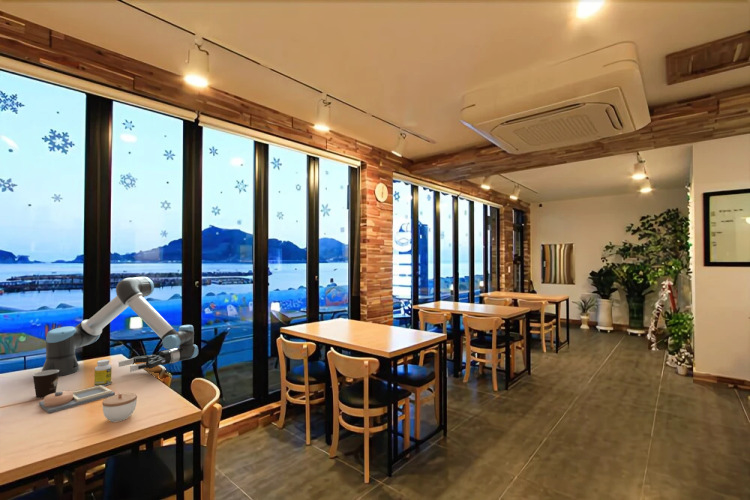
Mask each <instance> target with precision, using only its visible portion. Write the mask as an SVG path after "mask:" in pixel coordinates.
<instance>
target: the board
mask: <svg viewBox="0 0 750 500" xmlns="http://www.w3.org/2000/svg"><path fill="white" fill-rule="evenodd" d="M113 395H116V393H115V392H114V391H113V390H111V389H109V388H107V386H102V385H99V386H95V385H94V386H93V387H87V388H84V389H80V390H75V391H71V390H61V391H56V393H52V394H49V395H47V396H45V397H44V398H43V400H42V401H39V404H38V405H39V407H40V408H42V409H43V410H44V411H46V412H47V413H48V414H52V413H55V412H60V411H62V410H66V409H70V408H73V407H74V408H75V407H77V406H81V405H84V404H85V405H86V404H88V403H93V402H95V401H100V400H104V399H106V398H108V397H110V396H113Z"/></svg>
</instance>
